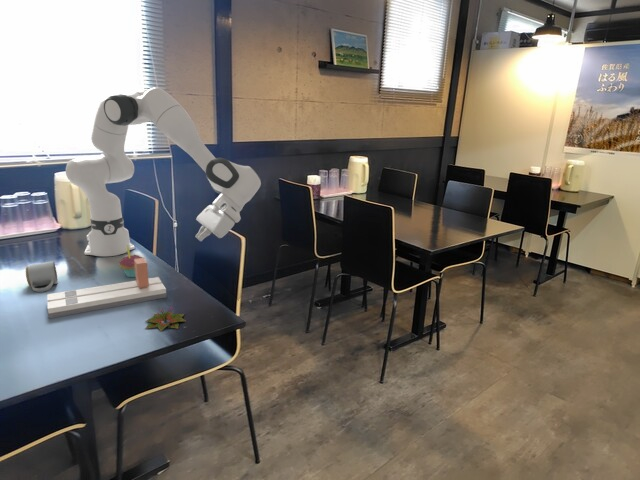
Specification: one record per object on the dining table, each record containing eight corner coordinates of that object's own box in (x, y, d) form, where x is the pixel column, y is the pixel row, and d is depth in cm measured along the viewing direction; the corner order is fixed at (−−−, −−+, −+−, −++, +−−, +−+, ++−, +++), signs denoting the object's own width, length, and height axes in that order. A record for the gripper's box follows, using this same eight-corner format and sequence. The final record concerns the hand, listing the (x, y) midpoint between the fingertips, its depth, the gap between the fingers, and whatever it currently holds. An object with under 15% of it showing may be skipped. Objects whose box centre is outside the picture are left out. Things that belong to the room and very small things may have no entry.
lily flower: (150, 313, 127) (149, 299, 126) (191, 313, 128) (190, 299, 127) (137, 333, 116) (135, 318, 115) (182, 333, 117) (181, 318, 116)
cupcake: (137, 280, 149) (133, 247, 146) (115, 277, 151) (111, 245, 148) (151, 271, 158) (148, 240, 154) (130, 269, 159) (127, 238, 156)
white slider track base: (48, 303, 130) (47, 294, 129) (159, 285, 146) (158, 276, 145) (49, 318, 121) (47, 308, 120) (166, 297, 137) (165, 288, 137)
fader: (136, 287, 140) (134, 259, 137) (146, 285, 141) (144, 257, 138) (139, 293, 136) (136, 263, 133) (149, 291, 137) (147, 262, 134)
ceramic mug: (29, 282, 144) (25, 261, 142) (57, 278, 148) (54, 257, 146) (27, 295, 136) (23, 272, 133) (57, 290, 140) (54, 268, 137)
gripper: (209, 196, 152) (182, 226, 150) (229, 208, 136) (199, 241, 133) (221, 207, 156) (196, 236, 154) (242, 220, 139) (214, 253, 137)
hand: (197, 239), depth 143 cm, fingers closed
